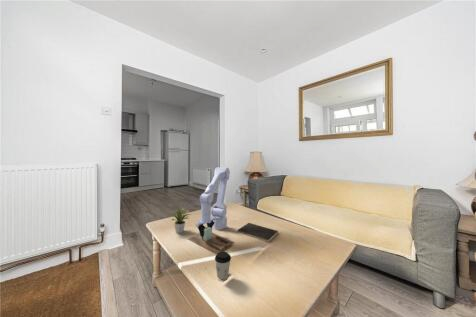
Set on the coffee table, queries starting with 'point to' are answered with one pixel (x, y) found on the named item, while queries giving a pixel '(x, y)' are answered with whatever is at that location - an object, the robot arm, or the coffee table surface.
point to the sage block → (206, 234)
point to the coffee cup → (222, 265)
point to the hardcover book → (258, 232)
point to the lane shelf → (212, 243)
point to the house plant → (180, 221)
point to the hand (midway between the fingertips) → (205, 234)
